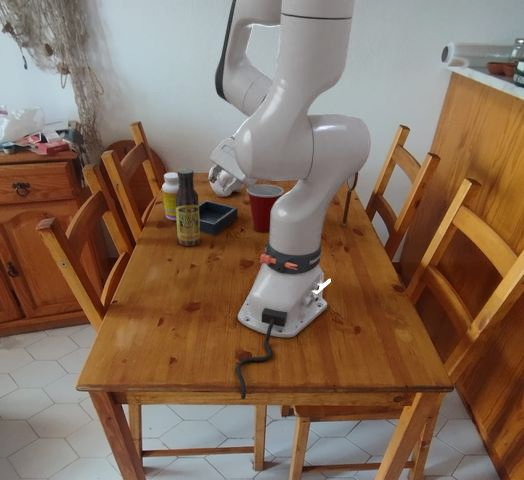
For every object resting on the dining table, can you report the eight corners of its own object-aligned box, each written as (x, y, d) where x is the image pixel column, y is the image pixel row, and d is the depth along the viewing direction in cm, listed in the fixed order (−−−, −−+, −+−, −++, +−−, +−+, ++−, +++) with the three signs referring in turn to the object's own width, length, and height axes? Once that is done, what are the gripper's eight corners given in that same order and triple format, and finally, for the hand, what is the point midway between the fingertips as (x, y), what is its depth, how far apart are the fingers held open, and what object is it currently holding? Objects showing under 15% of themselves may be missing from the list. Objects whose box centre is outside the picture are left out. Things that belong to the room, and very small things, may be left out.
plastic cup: (282, 221, 130) (285, 182, 122) (280, 237, 122) (282, 197, 114) (248, 219, 131) (248, 180, 123) (243, 234, 123) (243, 194, 115)
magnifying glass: (349, 232, 126) (362, 163, 113) (343, 232, 126) (355, 163, 113) (343, 219, 133) (354, 153, 119) (338, 219, 132) (349, 153, 119)
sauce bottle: (179, 248, 115) (171, 175, 102) (177, 238, 120) (169, 167, 106) (203, 246, 117) (198, 173, 103) (199, 236, 121) (194, 165, 108)
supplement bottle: (183, 222, 127) (179, 180, 119) (162, 220, 128) (157, 178, 119) (189, 213, 132) (186, 172, 124) (169, 211, 133) (164, 170, 124)
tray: (214, 235, 122) (214, 224, 119) (182, 226, 125) (181, 215, 123) (237, 218, 131) (237, 207, 129) (206, 210, 135) (205, 200, 132)
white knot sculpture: (222, 202, 139) (221, 175, 133) (201, 192, 146) (199, 165, 140) (247, 194, 145) (248, 168, 139) (226, 184, 152) (225, 159, 146)
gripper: (224, 125, 113) (194, 167, 116) (261, 146, 100) (226, 193, 103) (239, 141, 118) (209, 181, 121) (276, 163, 105) (242, 207, 108)
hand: (217, 187), depth 112 cm, fingers open, 8 cm apart
